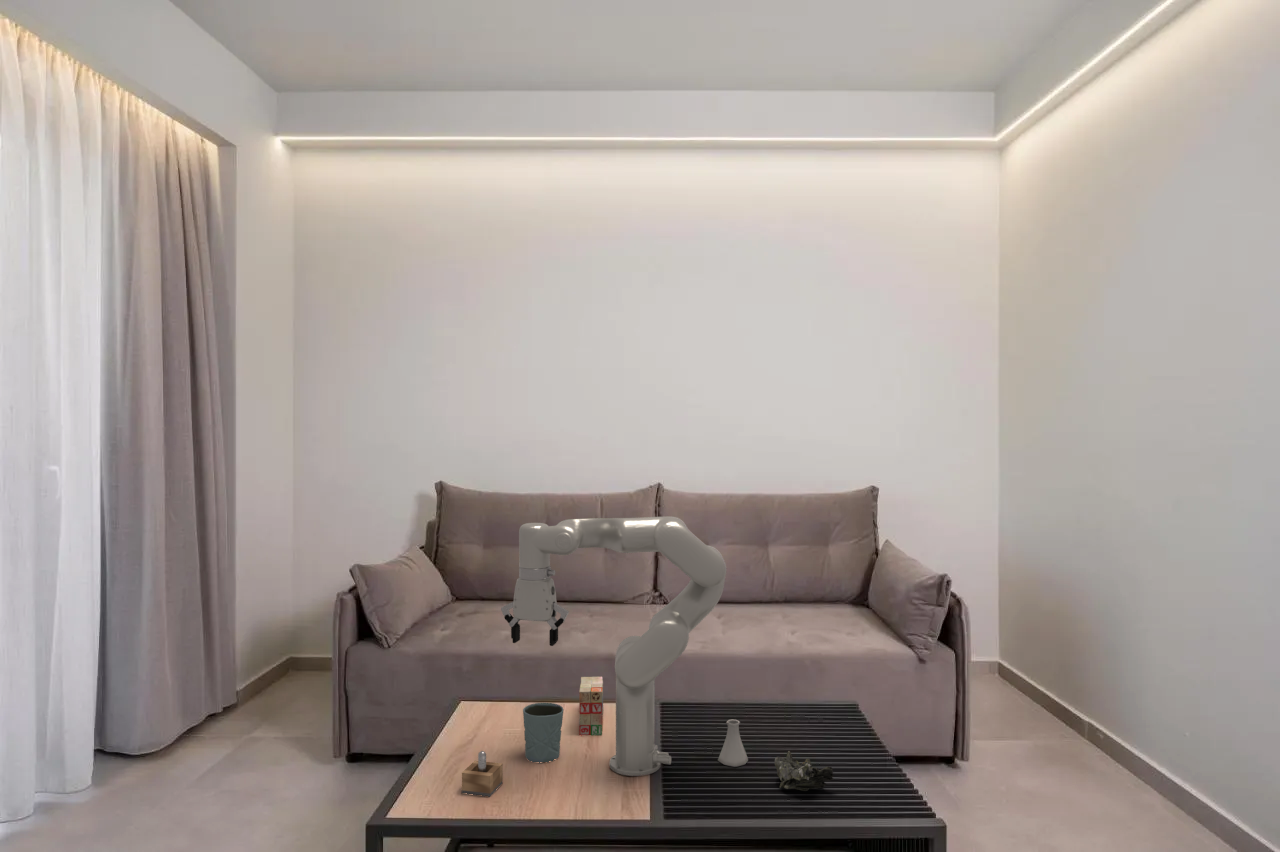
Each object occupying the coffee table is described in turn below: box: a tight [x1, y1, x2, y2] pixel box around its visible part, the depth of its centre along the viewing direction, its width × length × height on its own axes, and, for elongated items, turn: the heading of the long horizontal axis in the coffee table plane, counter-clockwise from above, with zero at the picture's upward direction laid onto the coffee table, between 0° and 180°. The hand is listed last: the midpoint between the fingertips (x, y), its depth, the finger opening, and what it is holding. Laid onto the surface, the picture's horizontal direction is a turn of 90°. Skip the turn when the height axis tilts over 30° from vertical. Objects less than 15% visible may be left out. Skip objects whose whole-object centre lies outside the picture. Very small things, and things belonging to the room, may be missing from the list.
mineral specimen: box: [774, 750, 835, 792], centre depth 196 cm, size 15×13×10 cm
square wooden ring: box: [461, 760, 504, 794], centre depth 194 cm, size 7×7×4 cm
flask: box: [717, 719, 749, 768], centre depth 210 cm, size 7×7×10 cm
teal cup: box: [522, 702, 565, 764], centre depth 213 cm, size 10×10×12 cm
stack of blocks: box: [578, 676, 604, 736], centre depth 237 cm, size 21×6×12 cm, turn 2°
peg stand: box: [461, 750, 503, 798], centre depth 194 cm, size 7×7×9 cm
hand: (534, 643), depth 207 cm, fingers open, 9 cm apart
